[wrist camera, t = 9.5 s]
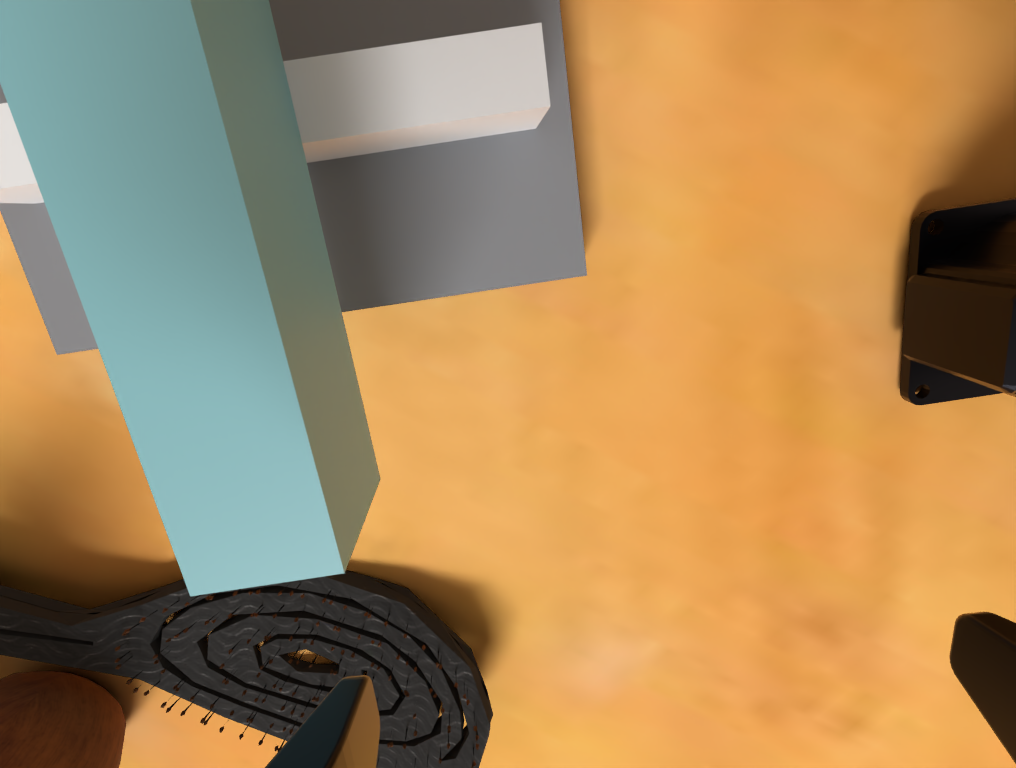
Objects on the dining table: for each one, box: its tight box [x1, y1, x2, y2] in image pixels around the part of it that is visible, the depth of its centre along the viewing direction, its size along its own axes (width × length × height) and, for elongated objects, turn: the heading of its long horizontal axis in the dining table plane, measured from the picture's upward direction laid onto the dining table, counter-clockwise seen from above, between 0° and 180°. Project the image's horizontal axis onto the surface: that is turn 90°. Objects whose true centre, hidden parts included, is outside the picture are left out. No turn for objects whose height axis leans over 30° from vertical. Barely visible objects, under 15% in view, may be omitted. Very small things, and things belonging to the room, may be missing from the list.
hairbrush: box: [0, 570, 493, 768], centre depth 20 cm, size 8×4×25 cm
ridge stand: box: [0, 0, 587, 355], centre depth 14 cm, size 16×10×5 cm, turn 98°
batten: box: [0, 0, 380, 596], centre depth 10 cm, size 18×3×4 cm, turn 8°
